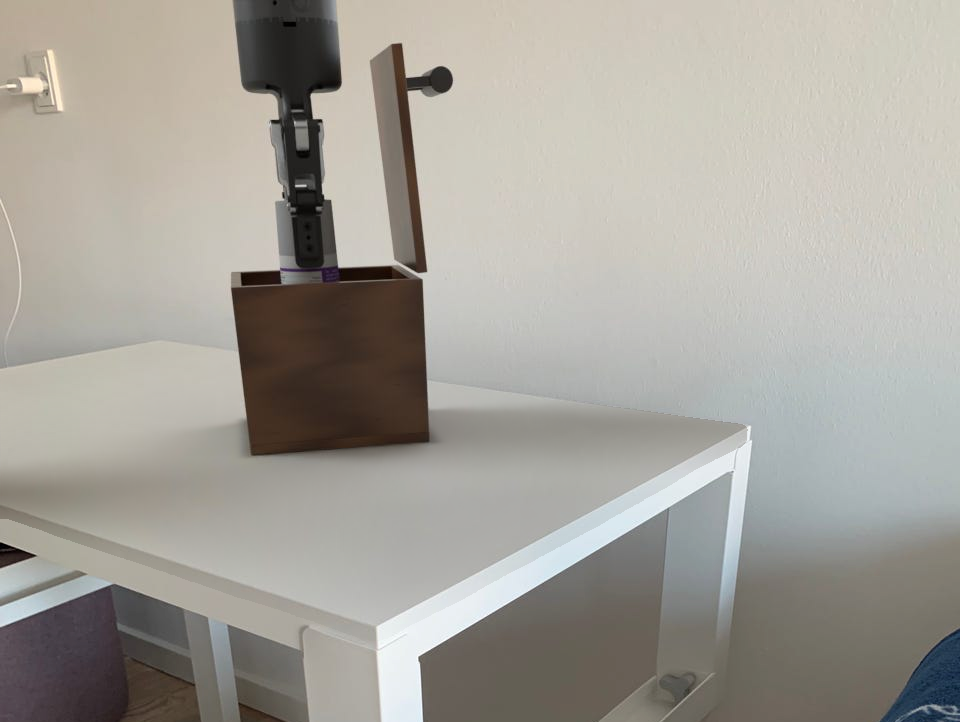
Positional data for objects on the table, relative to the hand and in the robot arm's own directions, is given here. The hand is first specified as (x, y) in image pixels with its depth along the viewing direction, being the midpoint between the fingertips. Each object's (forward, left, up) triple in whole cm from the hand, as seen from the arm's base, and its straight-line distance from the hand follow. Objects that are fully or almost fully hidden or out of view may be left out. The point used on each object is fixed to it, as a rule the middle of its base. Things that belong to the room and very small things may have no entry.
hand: (308, 263), depth 81 cm
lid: (+7, 0, +7) cm, 10 cm away
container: (0, 0, -11) cm, 11 cm away
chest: (+1, 0, -14) cm, 14 cm away
